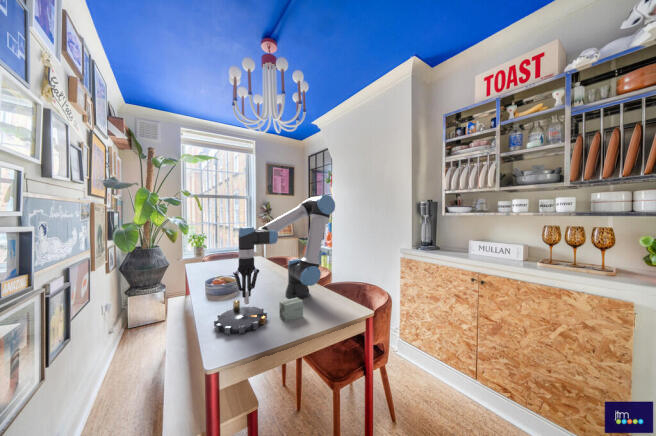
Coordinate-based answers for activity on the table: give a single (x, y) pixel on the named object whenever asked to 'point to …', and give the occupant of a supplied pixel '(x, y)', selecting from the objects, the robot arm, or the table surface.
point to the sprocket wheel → (240, 319)
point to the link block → (291, 309)
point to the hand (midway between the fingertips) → (246, 303)
